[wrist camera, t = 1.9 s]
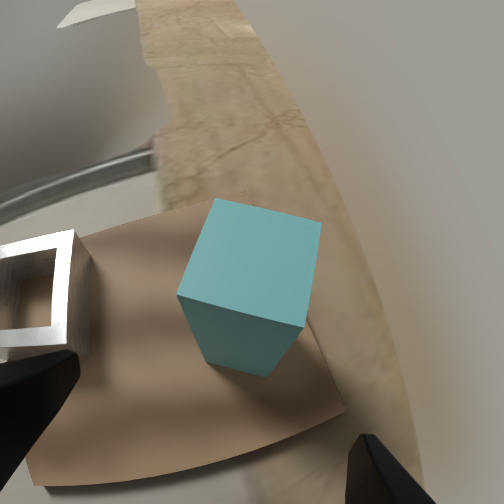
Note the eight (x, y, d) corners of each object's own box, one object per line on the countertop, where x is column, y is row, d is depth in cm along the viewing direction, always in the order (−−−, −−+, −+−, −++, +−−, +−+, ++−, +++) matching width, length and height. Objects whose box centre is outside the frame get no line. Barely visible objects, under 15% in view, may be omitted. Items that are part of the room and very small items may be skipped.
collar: (90, 357, 18) (66, 343, 15) (6, 360, 17) (-22, 347, 14) (90, 255, 22) (73, 229, 19) (14, 268, 21) (-7, 247, 18)
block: (266, 377, 18) (304, 327, 9) (205, 361, 19) (175, 294, 9) (280, 320, 20) (321, 222, 11) (222, 306, 21) (215, 197, 11)
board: (340, 411, 18) (346, 410, 17) (42, 484, 13) (34, 485, 12) (245, 200, 27) (245, 191, 26) (13, 270, 22) (6, 263, 21)
